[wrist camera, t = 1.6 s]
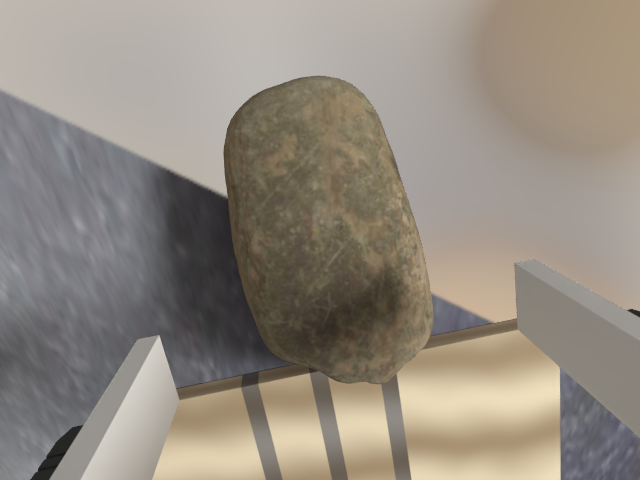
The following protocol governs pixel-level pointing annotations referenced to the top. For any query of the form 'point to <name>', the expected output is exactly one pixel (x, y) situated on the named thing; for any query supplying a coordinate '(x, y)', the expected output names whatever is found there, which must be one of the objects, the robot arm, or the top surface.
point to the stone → (325, 232)
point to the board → (379, 419)
